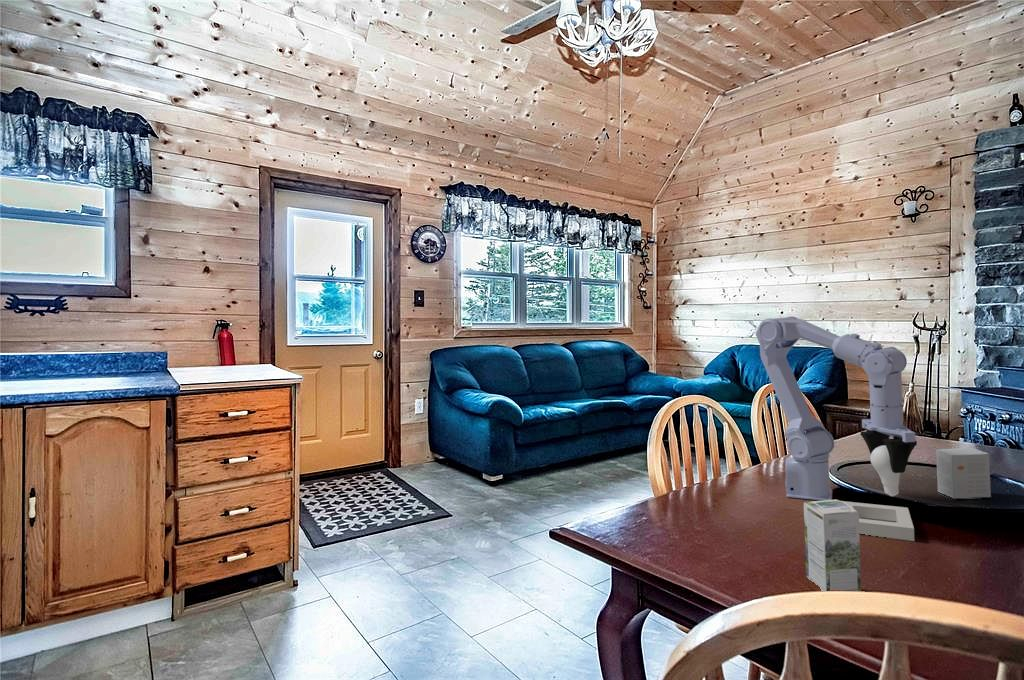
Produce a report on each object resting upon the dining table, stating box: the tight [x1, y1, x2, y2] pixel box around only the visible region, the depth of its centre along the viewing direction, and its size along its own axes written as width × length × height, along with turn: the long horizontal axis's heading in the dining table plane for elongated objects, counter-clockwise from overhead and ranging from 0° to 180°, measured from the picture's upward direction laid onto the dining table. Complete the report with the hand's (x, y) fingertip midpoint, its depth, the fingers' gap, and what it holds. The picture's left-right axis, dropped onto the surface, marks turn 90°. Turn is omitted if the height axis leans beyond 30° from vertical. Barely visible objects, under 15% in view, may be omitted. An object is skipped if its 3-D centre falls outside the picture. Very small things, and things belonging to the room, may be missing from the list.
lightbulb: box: [869, 445, 901, 497], centre depth 118 cm, size 6×6×11 cm
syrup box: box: [803, 499, 862, 592], centre depth 89 cm, size 6×6×14 cm
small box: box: [935, 447, 992, 498], centre depth 126 cm, size 8×6×10 cm
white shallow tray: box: [841, 500, 915, 542], centre depth 113 cm, size 12×12×2 cm
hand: (888, 468), depth 118 cm, fingers closed on lightbulb, 6 cm apart
